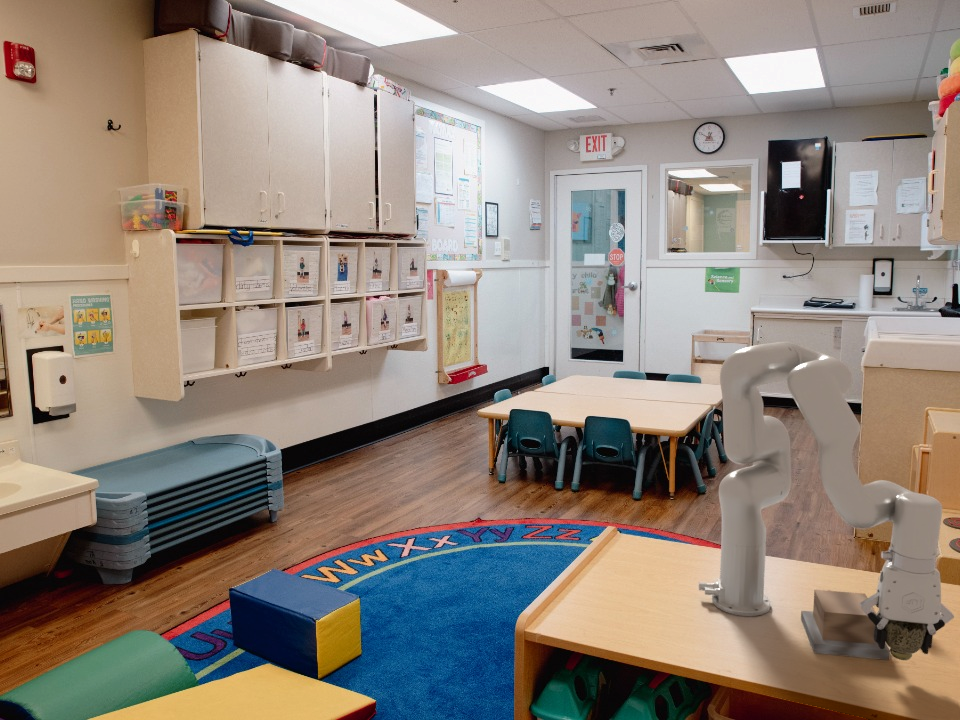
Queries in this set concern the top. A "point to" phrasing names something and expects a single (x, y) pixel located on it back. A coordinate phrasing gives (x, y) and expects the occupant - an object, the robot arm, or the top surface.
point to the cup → (904, 638)
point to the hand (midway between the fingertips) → (901, 647)
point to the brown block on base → (841, 626)
